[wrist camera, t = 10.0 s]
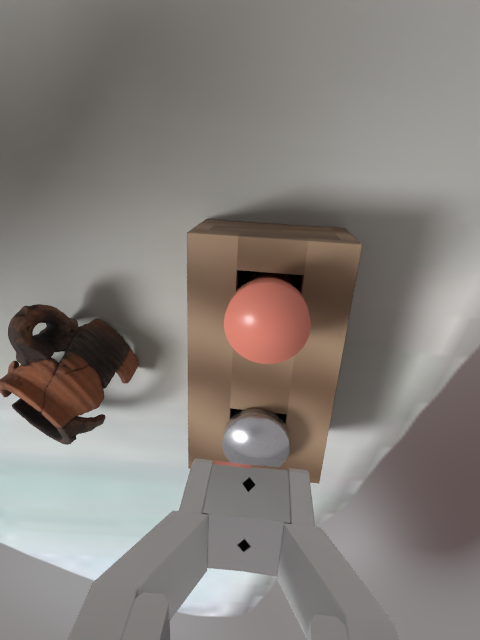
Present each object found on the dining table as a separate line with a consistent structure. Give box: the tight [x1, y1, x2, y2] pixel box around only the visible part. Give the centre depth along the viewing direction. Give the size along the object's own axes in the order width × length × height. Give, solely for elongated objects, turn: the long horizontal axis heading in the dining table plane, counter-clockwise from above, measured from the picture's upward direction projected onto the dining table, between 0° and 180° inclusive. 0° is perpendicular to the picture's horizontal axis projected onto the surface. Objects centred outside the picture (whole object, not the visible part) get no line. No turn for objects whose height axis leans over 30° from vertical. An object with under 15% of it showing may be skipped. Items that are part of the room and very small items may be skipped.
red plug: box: [224, 272, 311, 364], centre depth 22 cm, size 5×5×7 cm
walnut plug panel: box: [187, 219, 362, 483], centre depth 27 cm, size 18×10×6 cm, turn 177°
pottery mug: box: [0, 304, 139, 445], centre depth 30 cm, size 12×10×8 cm
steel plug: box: [222, 409, 290, 467], centre depth 28 cm, size 5×5×7 cm
